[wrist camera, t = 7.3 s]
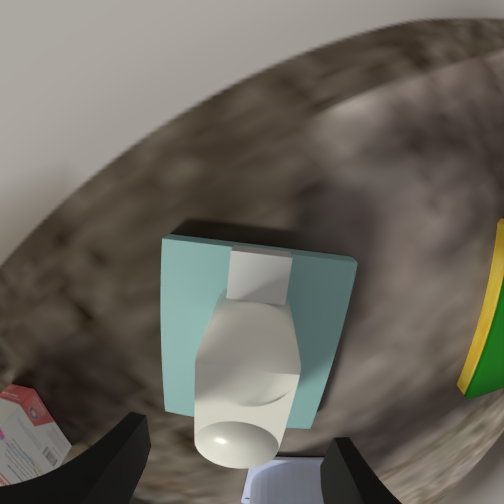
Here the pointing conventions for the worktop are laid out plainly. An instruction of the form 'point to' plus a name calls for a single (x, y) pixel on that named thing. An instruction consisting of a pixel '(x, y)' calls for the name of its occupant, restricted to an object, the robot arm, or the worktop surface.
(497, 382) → the dish sponge
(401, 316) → the worktop surface
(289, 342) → the white rounded piece
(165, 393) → the teal mat
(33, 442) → the ink cartridge box
